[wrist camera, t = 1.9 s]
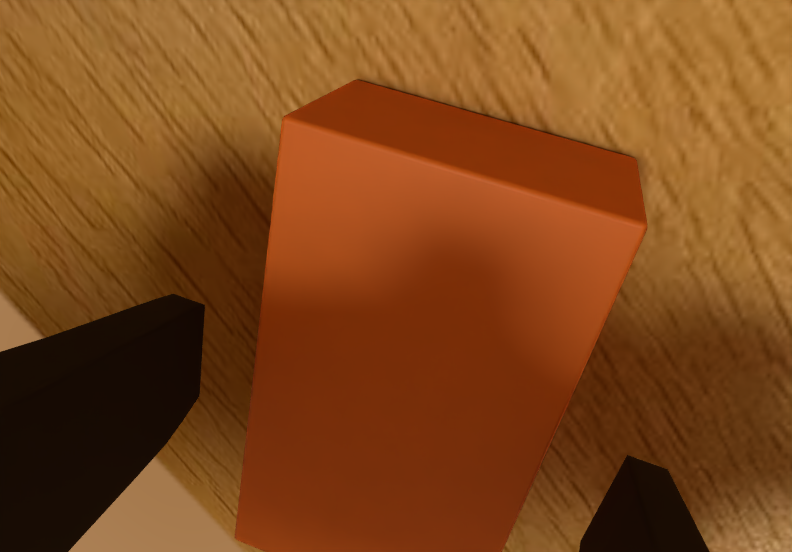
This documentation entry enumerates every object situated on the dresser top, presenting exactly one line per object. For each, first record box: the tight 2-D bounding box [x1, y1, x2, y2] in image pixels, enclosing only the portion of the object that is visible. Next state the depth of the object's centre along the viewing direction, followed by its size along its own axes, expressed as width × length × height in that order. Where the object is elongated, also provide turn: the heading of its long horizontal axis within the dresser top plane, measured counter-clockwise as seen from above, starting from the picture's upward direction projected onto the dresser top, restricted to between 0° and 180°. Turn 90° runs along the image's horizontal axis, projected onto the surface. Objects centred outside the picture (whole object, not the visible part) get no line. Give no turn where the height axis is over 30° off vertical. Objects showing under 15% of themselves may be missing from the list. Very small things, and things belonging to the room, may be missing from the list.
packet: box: [235, 80, 647, 552], centre depth 12 cm, size 5×9×3 cm, turn 168°
